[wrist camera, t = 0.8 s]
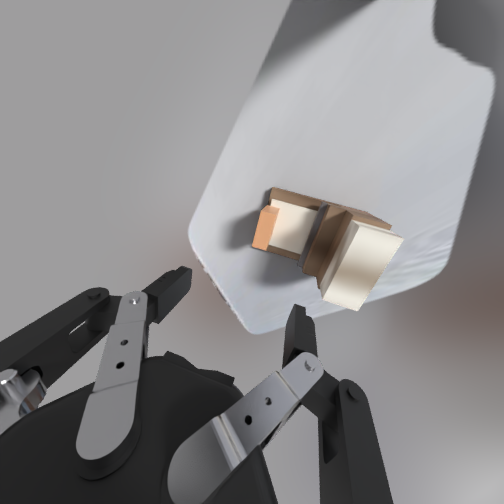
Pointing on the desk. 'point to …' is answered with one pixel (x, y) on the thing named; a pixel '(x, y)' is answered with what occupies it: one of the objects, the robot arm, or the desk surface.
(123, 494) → the robot arm
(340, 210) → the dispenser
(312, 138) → the desk surface
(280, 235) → the plank with orange cube
